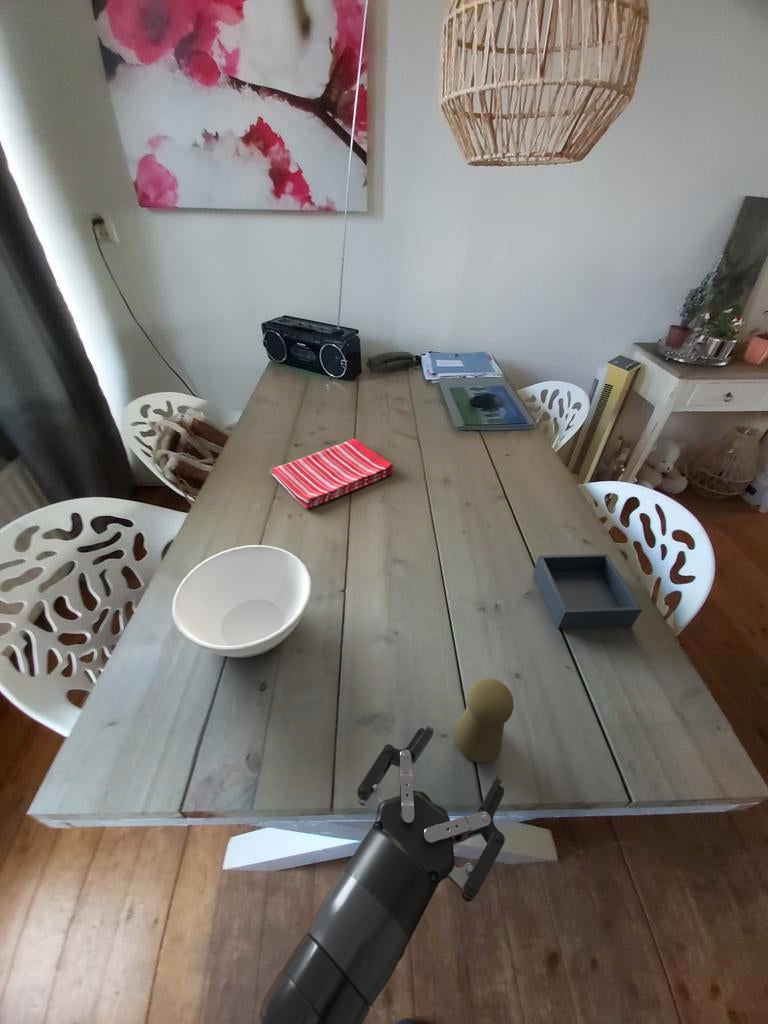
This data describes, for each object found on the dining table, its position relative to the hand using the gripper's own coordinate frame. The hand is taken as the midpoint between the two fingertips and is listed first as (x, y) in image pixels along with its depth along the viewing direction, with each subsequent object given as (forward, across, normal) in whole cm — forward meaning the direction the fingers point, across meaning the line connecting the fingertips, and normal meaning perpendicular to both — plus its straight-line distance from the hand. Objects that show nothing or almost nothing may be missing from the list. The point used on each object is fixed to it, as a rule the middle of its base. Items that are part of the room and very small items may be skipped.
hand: (462, 754), depth 49 cm
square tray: (+37, -3, +6) cm, 38 cm away
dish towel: (+38, +55, +7) cm, 67 cm away
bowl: (-1, +36, +7) cm, 37 cm away
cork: (+6, 0, +7) cm, 9 cm away
